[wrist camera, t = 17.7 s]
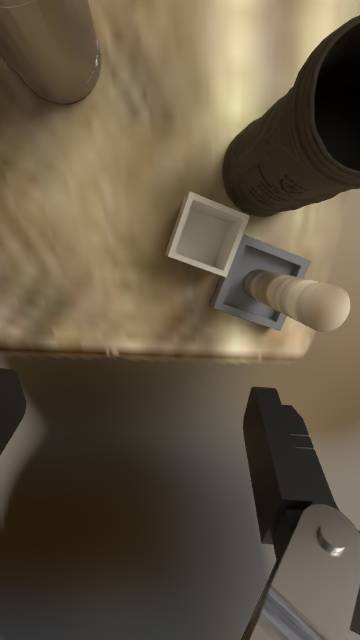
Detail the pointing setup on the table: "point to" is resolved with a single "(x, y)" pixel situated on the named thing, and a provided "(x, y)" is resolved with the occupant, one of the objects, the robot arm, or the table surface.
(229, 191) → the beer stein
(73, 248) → the table surface
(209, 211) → the light grey square box
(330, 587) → the robot arm
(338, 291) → the birch pin
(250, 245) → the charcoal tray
